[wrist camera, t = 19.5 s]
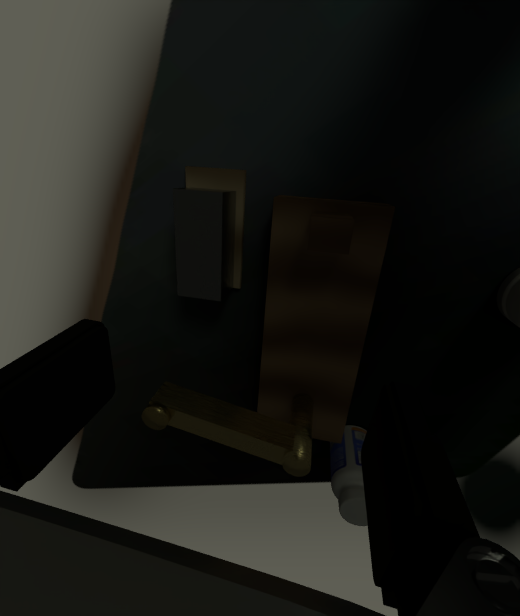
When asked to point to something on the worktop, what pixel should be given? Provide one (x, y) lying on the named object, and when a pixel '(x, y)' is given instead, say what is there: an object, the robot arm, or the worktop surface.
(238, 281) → the cork pad
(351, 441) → the pill bottle
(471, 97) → the worktop surface
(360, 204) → the plane body
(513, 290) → the travel mug
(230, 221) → the black rectangular block
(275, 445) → the lever
